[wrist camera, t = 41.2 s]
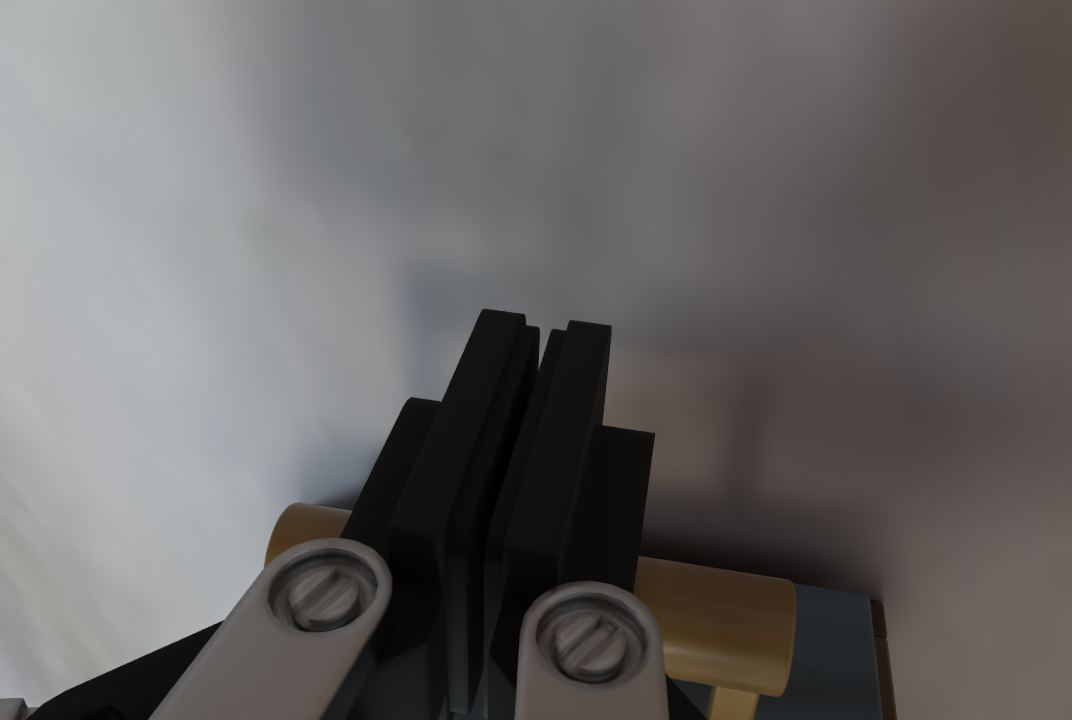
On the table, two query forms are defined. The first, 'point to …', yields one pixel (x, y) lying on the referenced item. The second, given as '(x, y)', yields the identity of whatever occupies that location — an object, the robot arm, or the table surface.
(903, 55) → the table surface
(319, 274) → the table surface
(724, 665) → the drawer
